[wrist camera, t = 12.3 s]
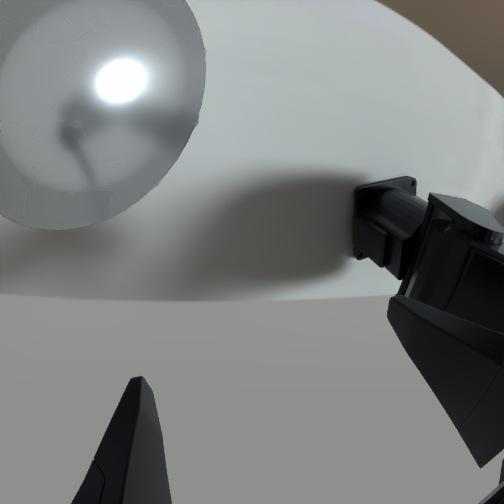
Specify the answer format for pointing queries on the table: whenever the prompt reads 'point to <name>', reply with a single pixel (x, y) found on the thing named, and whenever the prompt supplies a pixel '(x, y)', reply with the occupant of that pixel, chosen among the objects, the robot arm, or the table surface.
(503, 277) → the robot arm
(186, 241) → the table surface
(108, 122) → the grey cup
